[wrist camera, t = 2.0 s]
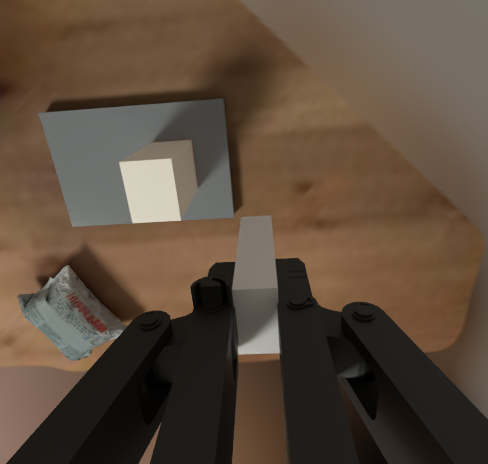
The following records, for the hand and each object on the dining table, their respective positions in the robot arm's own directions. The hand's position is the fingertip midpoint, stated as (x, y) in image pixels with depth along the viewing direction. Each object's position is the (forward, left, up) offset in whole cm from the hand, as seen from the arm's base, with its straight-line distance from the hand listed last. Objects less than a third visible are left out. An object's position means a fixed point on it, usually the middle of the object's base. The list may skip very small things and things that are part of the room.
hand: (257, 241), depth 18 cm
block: (-6, -6, -19) cm, 20 cm away
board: (-8, -8, -20) cm, 23 cm away
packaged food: (-4, -28, -20) cm, 35 cm away
